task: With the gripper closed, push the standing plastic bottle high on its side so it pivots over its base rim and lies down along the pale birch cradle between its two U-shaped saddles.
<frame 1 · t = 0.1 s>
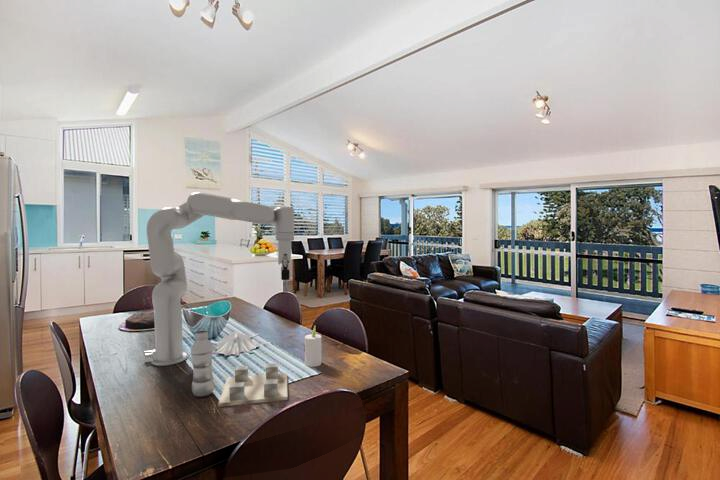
hand: (285, 277, 150), 31 cm above the table, tool pointing down, fingers open, 9 cm apart
cradle: (255, 389, 118), on the table
candle: (312, 363, 140), on the table
chocolate cake: (150, 325, 192), on the table
plastic bottle: (203, 395, 114), on the table
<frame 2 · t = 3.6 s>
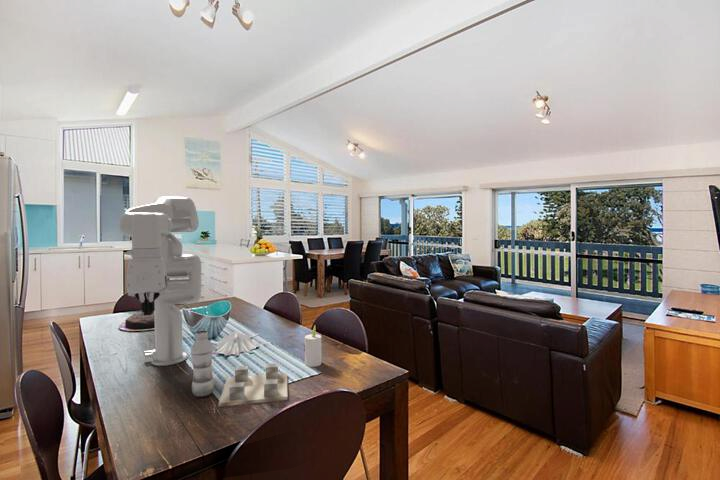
hand: (148, 314, 110), 26 cm above the table, tool pointing down, fingers closed
nothing on the table moved.
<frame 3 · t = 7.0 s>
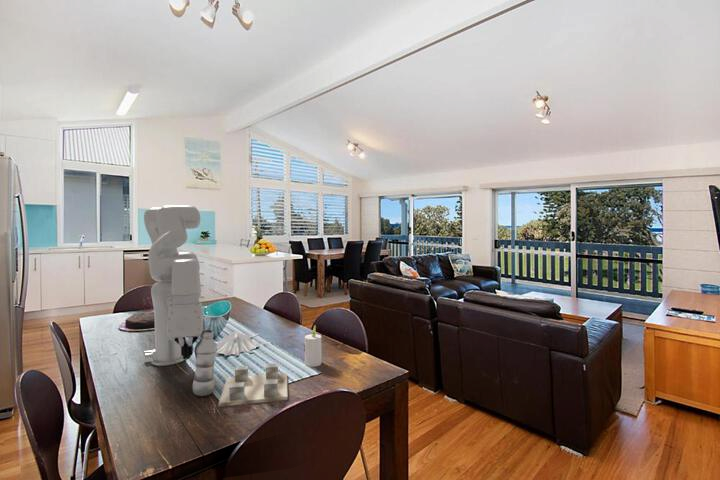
hand: (187, 357, 113), 12 cm above the table, tool pointing down, fingers closed
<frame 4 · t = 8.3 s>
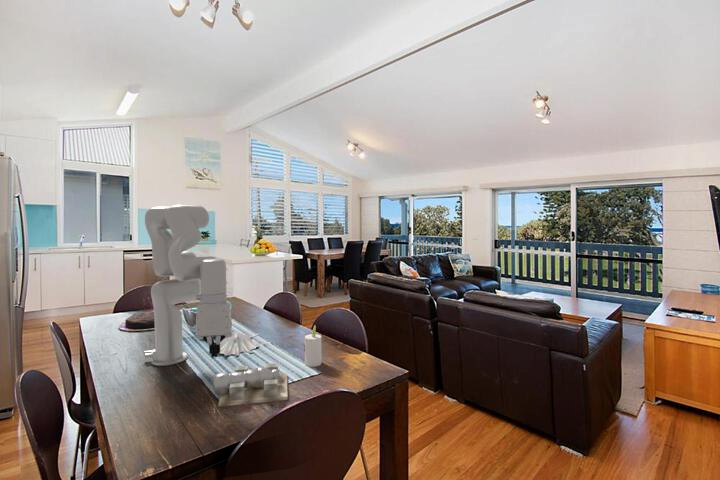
hand: (214, 355, 114), 12 cm above the table, tool pointing down, fingers closed
plastic bottle: (212, 385, 112), point 4 cm above the table, touching cradle
everything else where it was.
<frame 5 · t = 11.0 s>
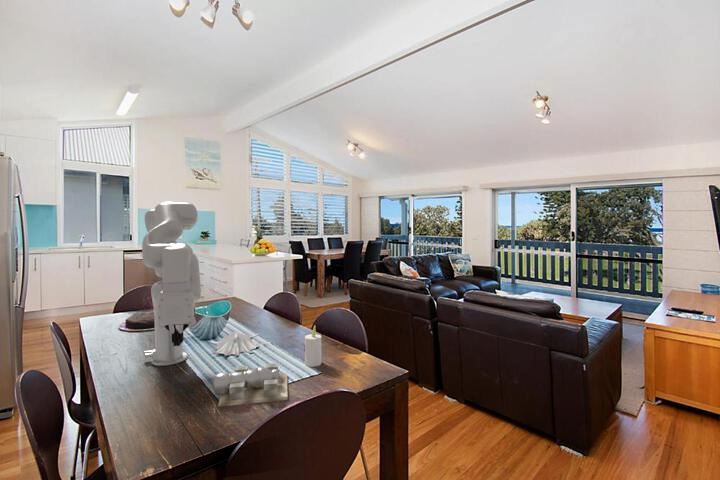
hand: (177, 344, 113), 16 cm above the table, tool pointing down, fingers closed
nothing on the table moved.
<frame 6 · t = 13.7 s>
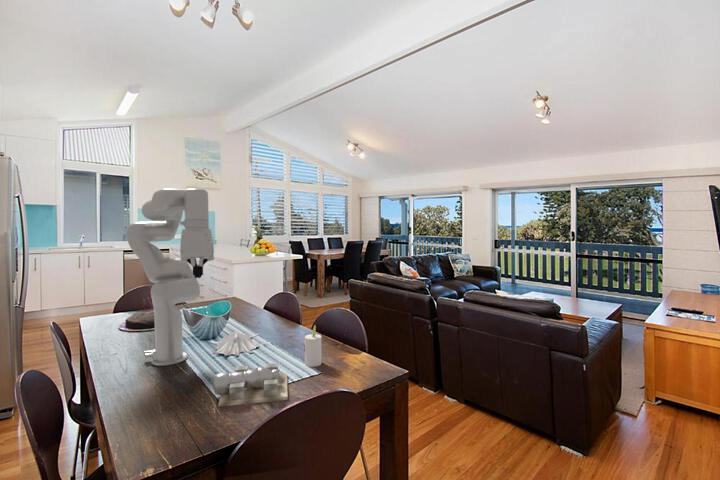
hand: (198, 277, 126), 35 cm above the table, tool pointing down, fingers closed
nothing on the table moved.
at the end: plastic bottle tilted 90°; plastic bottle inside the target area on the table beside the cradle (3.4 cm from its centre), point 4.1 cm above the table; plastic bottle touching cradle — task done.
